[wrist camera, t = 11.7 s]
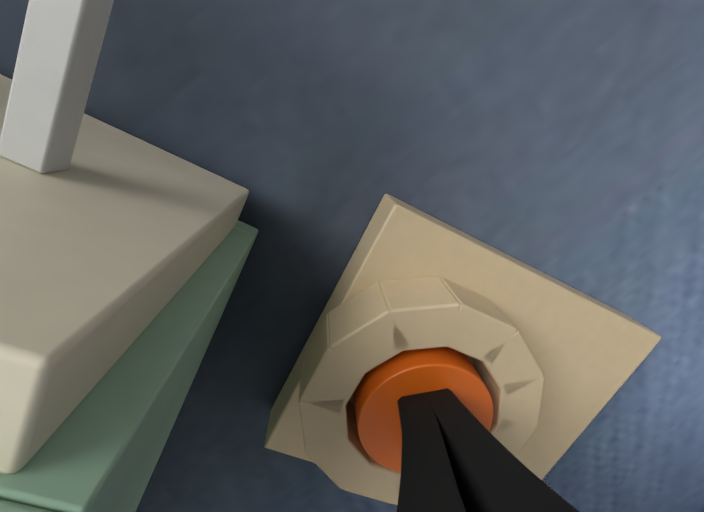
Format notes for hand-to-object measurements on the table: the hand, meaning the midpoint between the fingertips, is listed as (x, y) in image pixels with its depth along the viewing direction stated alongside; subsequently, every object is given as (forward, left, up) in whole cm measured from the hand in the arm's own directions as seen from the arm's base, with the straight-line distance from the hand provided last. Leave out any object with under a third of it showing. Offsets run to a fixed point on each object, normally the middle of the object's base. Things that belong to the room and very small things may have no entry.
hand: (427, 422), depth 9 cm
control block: (+2, 0, -4) cm, 4 cm away
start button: (0, 0, -2) cm, 2 cm away
